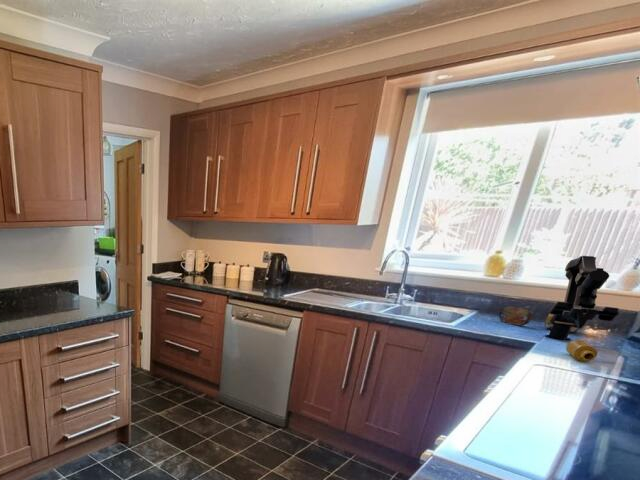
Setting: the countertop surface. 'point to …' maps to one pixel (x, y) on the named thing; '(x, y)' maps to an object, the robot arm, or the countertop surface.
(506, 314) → the tin
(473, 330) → the countertop surface
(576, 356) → the bottle
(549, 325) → the burger
